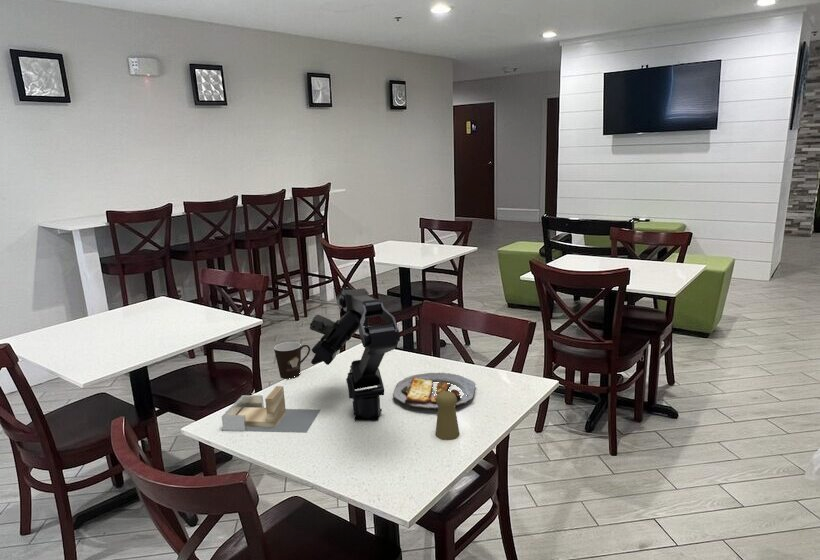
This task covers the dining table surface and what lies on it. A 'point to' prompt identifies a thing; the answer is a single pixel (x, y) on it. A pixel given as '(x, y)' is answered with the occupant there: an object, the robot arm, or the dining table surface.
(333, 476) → the dining table surface
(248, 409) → the menu stand
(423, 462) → the dining table surface
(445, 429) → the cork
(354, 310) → the robot arm
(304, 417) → the rubber mat
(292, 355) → the coffee mug
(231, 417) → the frame
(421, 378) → the food plate
